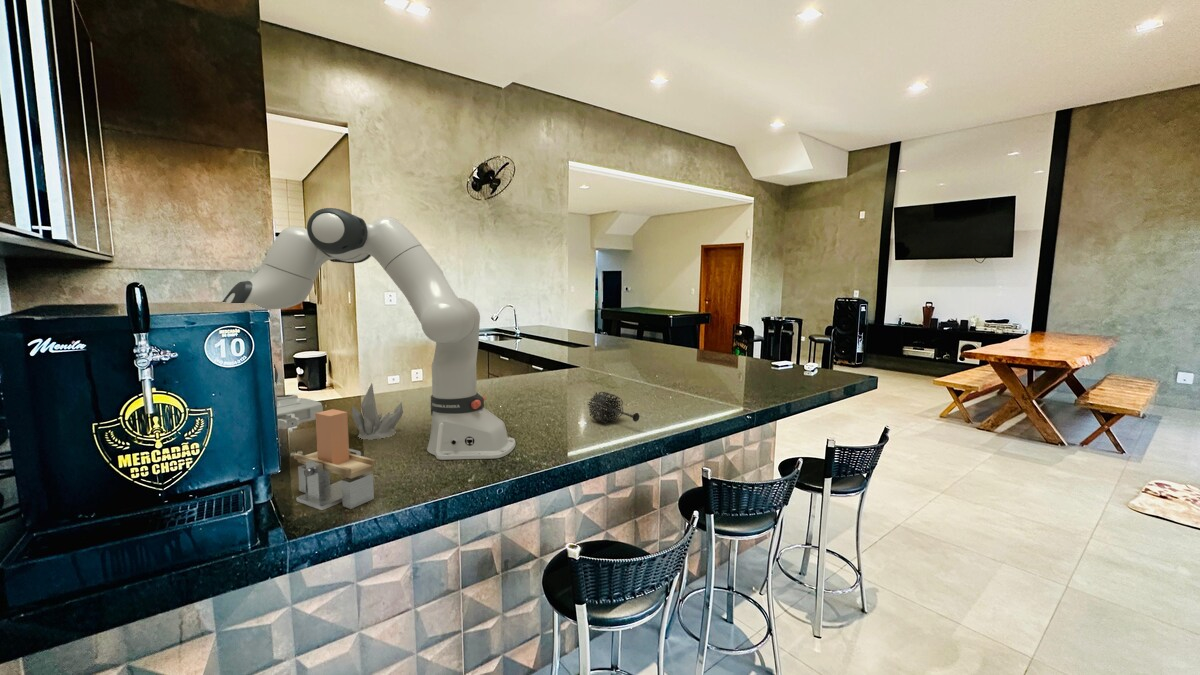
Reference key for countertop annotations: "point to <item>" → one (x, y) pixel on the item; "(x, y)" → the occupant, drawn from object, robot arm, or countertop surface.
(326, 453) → the block
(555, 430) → the countertop surface
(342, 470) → the beam
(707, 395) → the countertop surface
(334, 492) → the fulcrum
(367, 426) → the crystal
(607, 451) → the countertop surface
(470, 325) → the robot arm
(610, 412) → the massage brush
